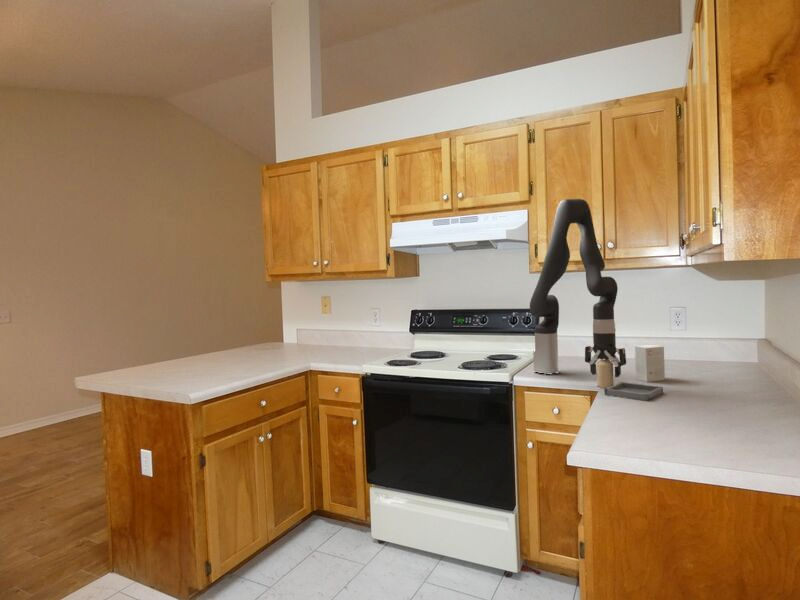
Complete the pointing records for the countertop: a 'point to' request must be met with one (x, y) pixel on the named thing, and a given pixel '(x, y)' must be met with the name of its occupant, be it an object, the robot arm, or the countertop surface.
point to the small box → (649, 363)
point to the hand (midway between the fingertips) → (605, 375)
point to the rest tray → (634, 391)
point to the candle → (605, 374)
